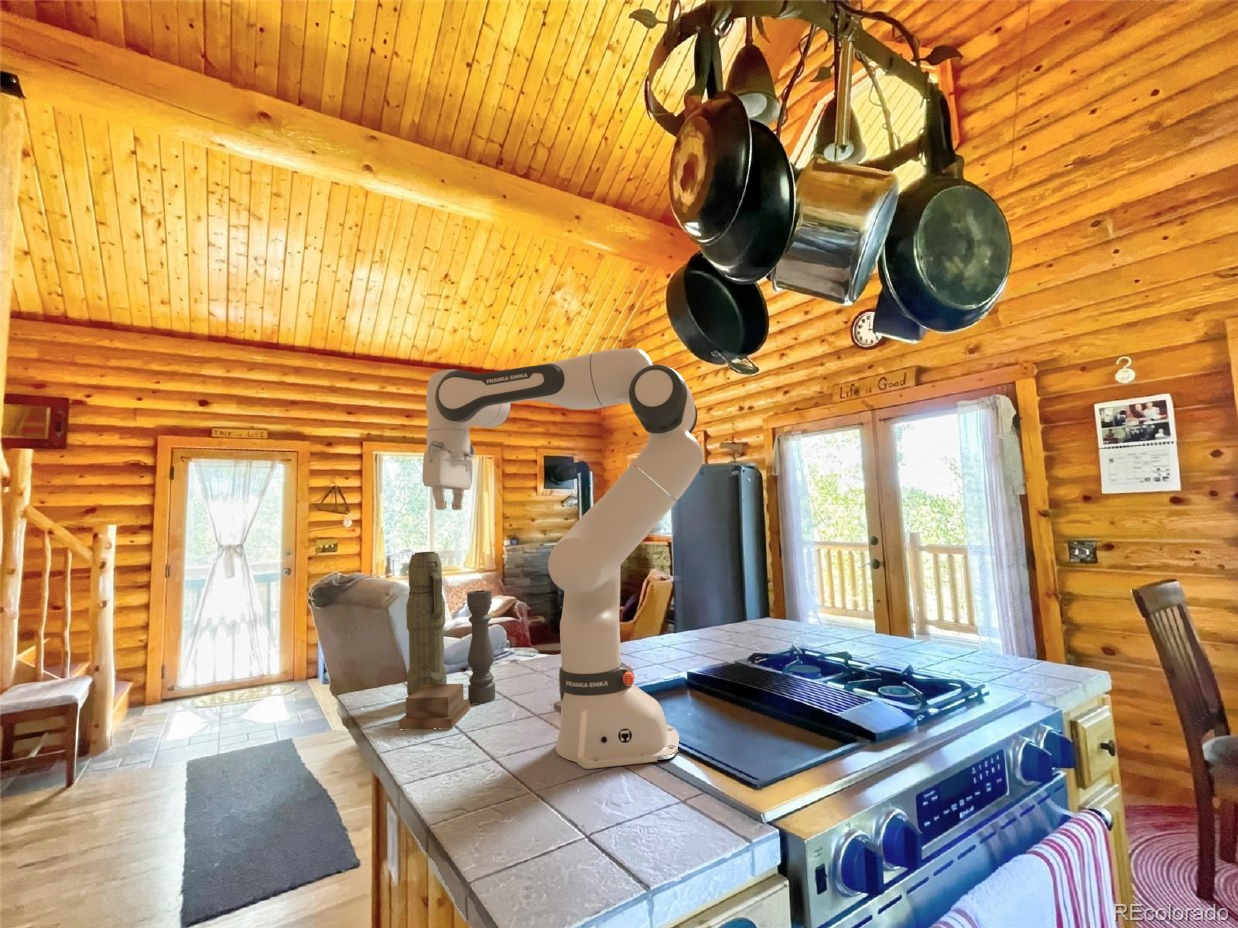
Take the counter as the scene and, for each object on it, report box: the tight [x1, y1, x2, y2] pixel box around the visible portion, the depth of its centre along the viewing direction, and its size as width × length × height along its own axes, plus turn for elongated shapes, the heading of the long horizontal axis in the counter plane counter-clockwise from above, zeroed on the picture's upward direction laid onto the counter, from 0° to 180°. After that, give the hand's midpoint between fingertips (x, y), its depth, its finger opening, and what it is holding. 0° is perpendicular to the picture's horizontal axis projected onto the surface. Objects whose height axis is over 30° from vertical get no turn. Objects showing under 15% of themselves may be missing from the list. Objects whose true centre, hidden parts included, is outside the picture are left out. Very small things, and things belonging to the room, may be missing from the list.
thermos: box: [405, 551, 448, 697], centre depth 132 cm, size 9×12×35 cm
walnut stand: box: [398, 683, 471, 730], centre depth 118 cm, size 11×11×6 cm
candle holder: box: [466, 589, 496, 704], centre depth 131 cm, size 6×6×25 cm
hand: (449, 509), depth 117 cm, fingers open, 8 cm apart
